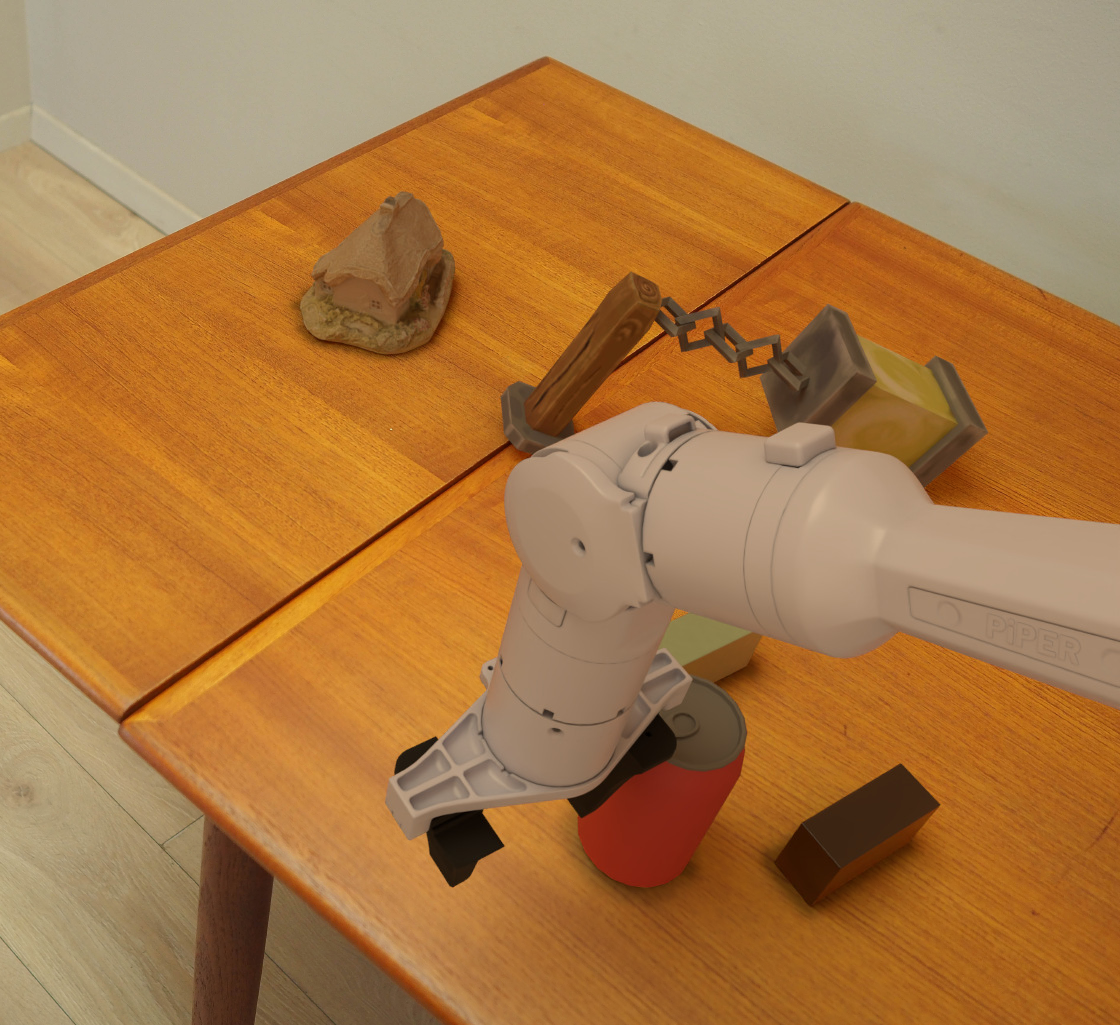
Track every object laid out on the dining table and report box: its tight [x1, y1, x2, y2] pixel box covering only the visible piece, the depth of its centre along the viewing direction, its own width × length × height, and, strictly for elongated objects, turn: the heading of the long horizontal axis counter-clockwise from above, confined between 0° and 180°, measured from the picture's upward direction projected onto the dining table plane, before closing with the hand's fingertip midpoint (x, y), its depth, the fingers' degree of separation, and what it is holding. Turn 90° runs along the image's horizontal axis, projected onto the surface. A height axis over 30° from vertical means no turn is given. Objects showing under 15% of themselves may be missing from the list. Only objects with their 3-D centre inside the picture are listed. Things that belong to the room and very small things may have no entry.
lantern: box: [500, 271, 989, 489], centre depth 86 cm, size 8×17×30 cm
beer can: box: [576, 674, 748, 889], centre depth 61 cm, size 7×7×12 cm
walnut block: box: [774, 762, 941, 907], centre depth 65 cm, size 3×8×4 cm, turn 122°
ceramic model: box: [299, 190, 456, 355], centre depth 93 cm, size 14×11×10 cm
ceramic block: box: [658, 612, 764, 684], centre depth 72 cm, size 3×8×4 cm, turn 122°
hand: (512, 832), depth 55 cm, fingers open, 7 cm apart
